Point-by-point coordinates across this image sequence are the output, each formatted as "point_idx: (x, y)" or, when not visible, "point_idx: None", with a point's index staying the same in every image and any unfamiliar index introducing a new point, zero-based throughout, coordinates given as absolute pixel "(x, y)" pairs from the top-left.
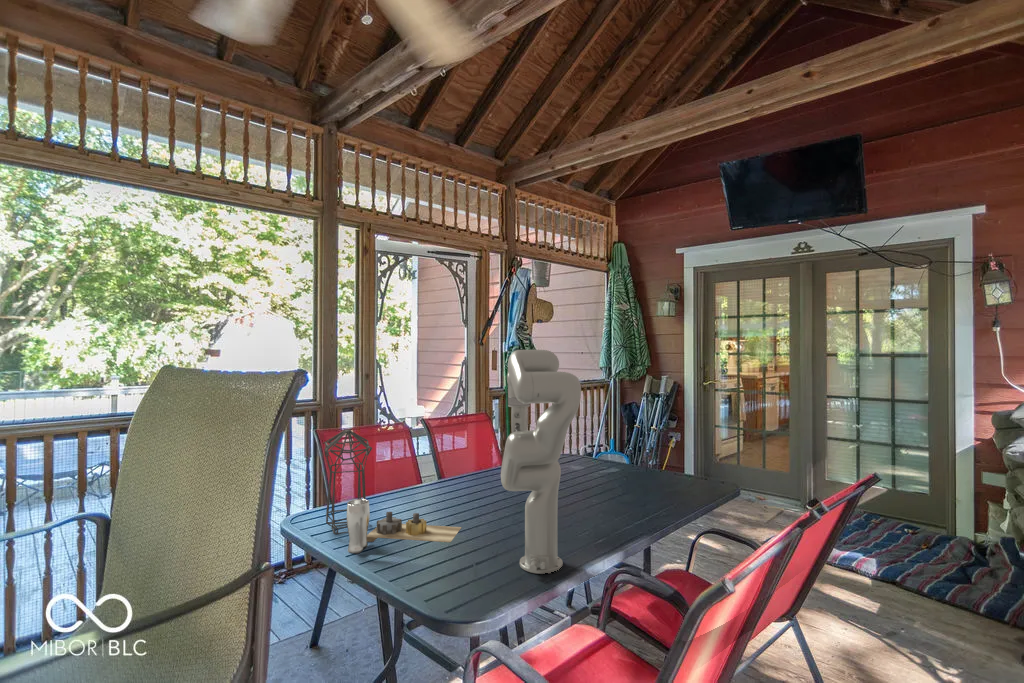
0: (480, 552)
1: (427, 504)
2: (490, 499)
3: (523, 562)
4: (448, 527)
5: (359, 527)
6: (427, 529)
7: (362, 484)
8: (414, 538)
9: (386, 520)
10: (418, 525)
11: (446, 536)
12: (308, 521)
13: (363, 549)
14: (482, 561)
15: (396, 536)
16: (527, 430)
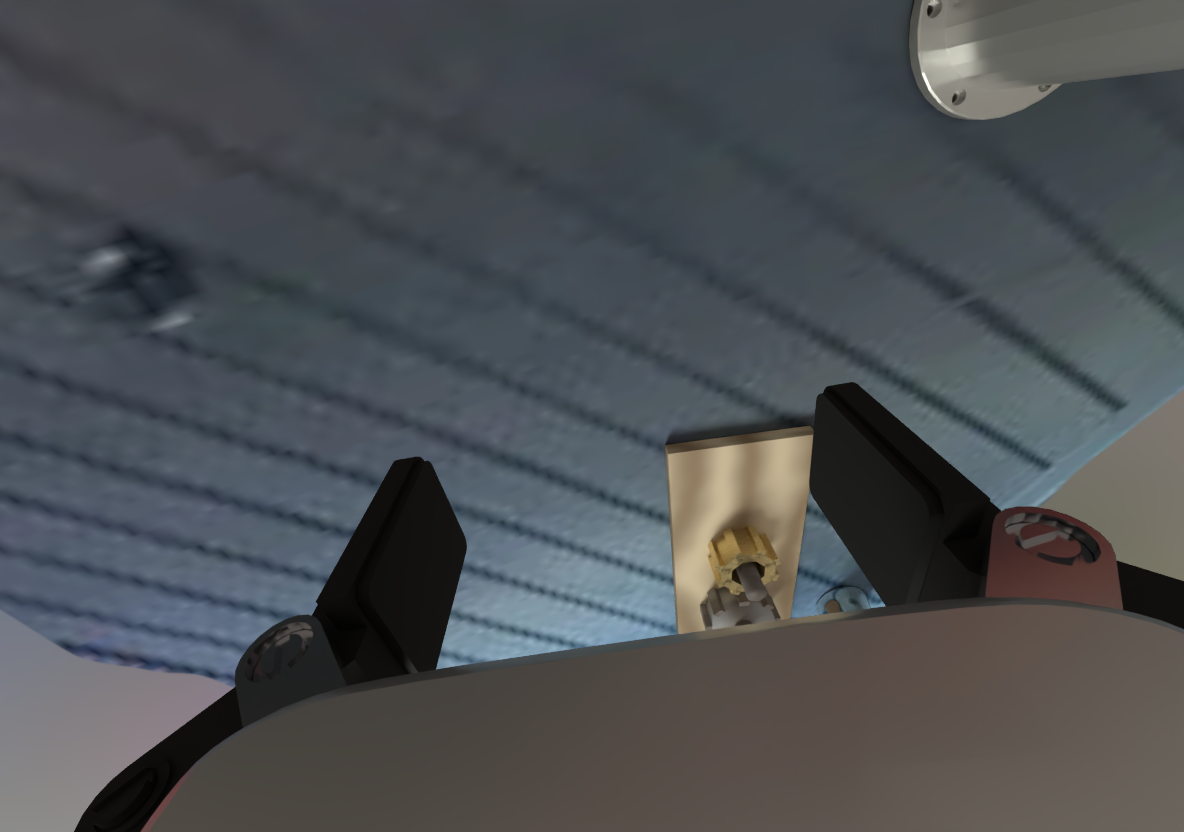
0: (854, 317)
1: (450, 617)
2: (268, 480)
3: (1030, 89)
4: (679, 488)
5: None
6: (710, 531)
7: None
8: (792, 531)
9: None
10: (769, 556)
11: (764, 463)
12: None
13: (859, 592)
14: (939, 281)
15: (780, 572)
16: (368, 769)
